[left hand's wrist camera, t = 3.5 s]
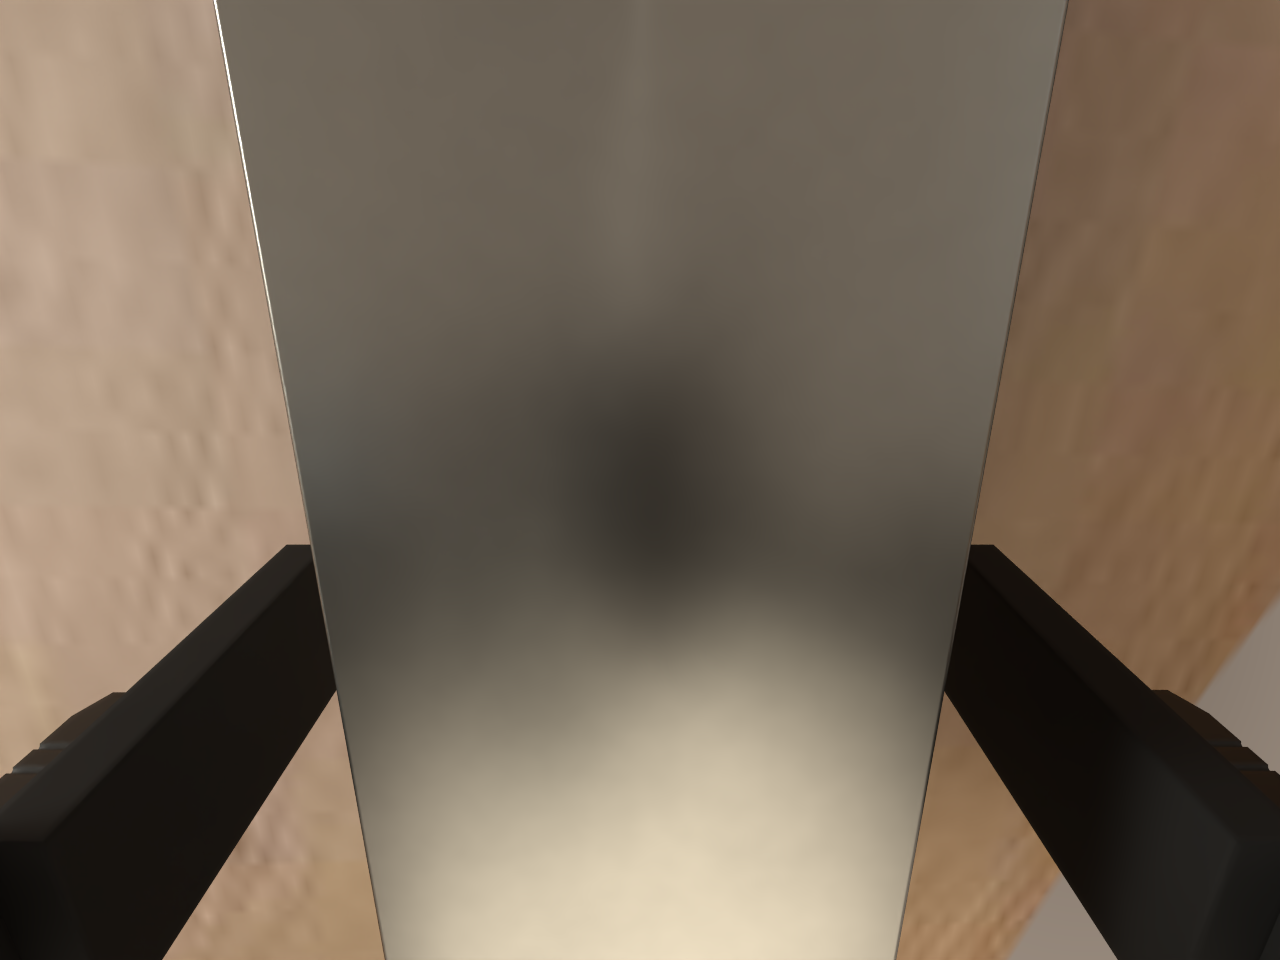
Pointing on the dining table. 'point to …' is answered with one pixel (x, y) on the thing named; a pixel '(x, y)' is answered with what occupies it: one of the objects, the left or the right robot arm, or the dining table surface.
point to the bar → (640, 439)
